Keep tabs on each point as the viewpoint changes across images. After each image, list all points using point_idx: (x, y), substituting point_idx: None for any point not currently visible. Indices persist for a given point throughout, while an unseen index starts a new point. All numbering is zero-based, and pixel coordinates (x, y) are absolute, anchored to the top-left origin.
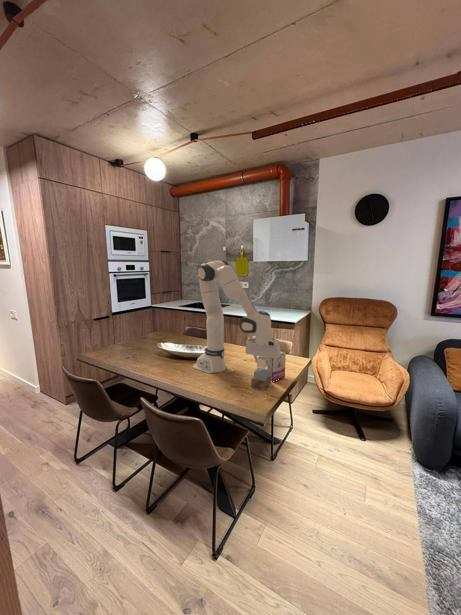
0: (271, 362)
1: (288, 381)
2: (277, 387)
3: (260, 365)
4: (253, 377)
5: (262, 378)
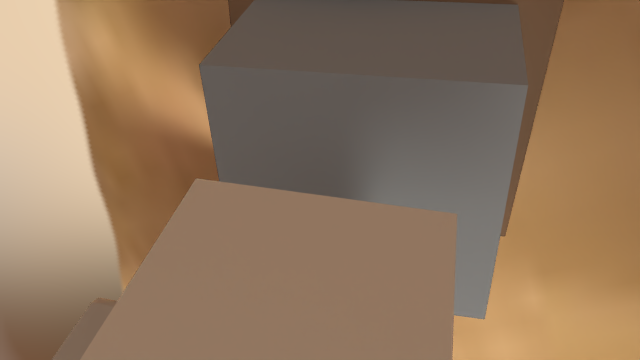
0: None
1: (131, 244)
2: (169, 70)
3: (322, 240)
4: (537, 77)
5: (311, 17)
